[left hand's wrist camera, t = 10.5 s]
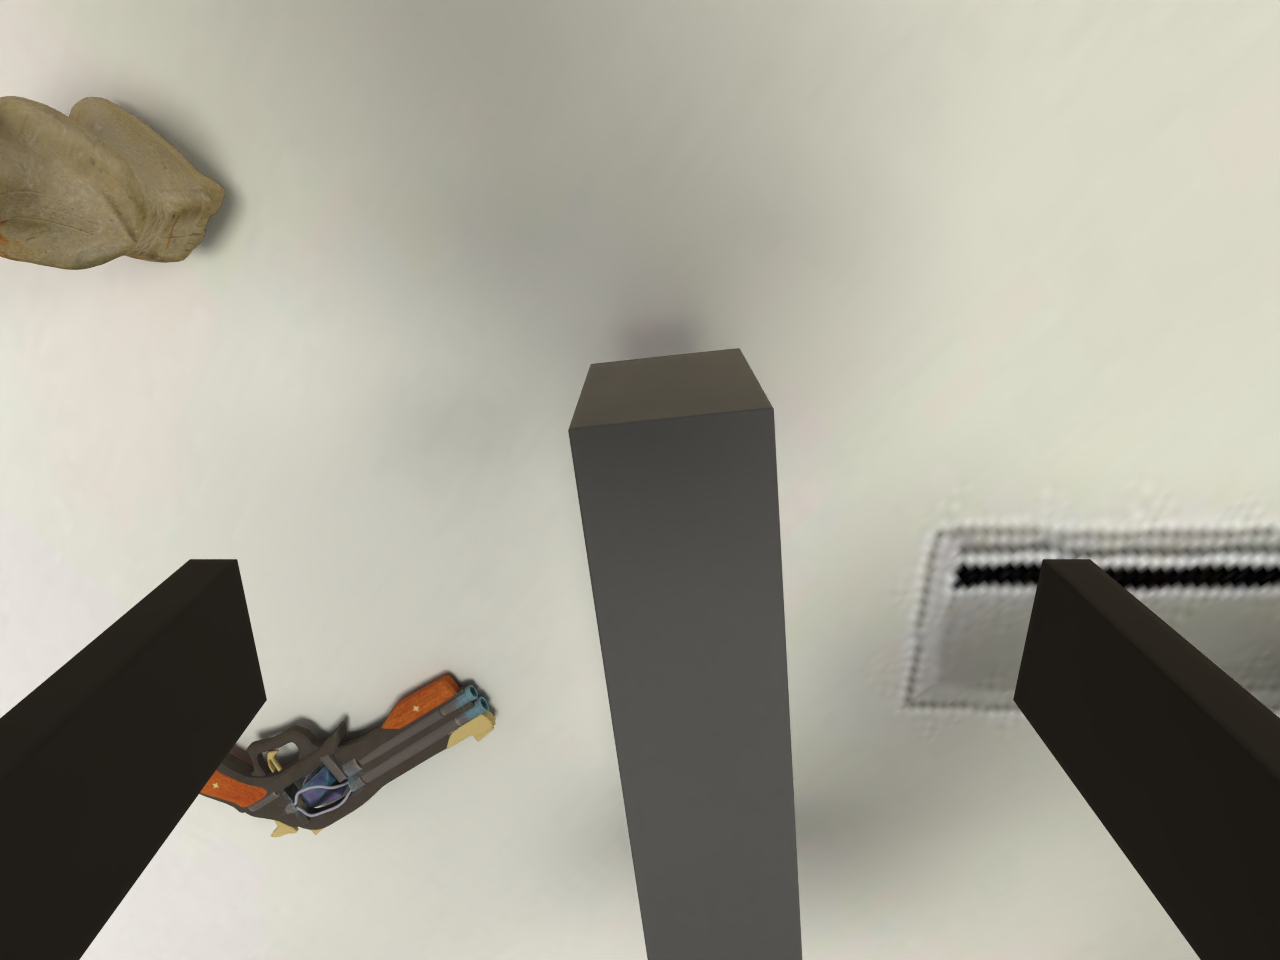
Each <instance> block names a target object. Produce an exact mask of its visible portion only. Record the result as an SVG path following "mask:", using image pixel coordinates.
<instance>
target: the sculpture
mask: <svg viewBox="0 0 1280 960" xmlns="http://www.w3.org/2000/svg"><path fill="white" fill-rule="evenodd" d="M224 196H225V191H224V189H223V188H222V187H221V186H220V185H219V184H218V183H217V182H216V181H214V180H213V179H211V178H209V177H205V176H204V175H202V174H201V173H200V172H198V171H197V170H196V169H195V168H194V167H193V166H192V165H191V164H190V163H189V162H188V161H187V159H186V158H185V157H184V156H183V155H182V154H181V153H180V152H179V151H178V150H177V149H176V148H174V147H173V146H172V145H171V144H170V143H168V142H167V141H166V140H165V139H163V138H162V137H161V136H160V135H158V134H157V133H156V132H155V131H154V130H152V129H151V128H150V127H149V126H147V125H146V124H145V123H143V122H142V121H141V120H139V119H138V118H136V117H135V116H133V115H132V114H130V113H129V112H127V111H126V110H124V109H122V108H121V107H119V106H117V105H116V104H114V103H112V102H110V101H108V100H106V99H103V98H98V97H87V98H84V99H82V100H81V101H79V102H78V103H76V104H75V105H74V107H73V108H72V109H71V112H70V115H69V117H67V116H66V115H64V114H62V113H61V112H59V111H57V110H56V109H53V108H51V107H49V106H47V105H44V104H42V103H39V102H36V101H32V100H29V99H26V98H22V97H16V96H6V97H1V98H0V256H1V257H4V258H7V259H10V260H15V261H22V262H30V263H34V264H39V265H45V266H50V267H56V268H61V269H71V270H79V269H87V268H91V267H95V266H98V265H102V264H104V263H107V262H109V261H111V260H113V259H116V258H118V257H120V256H123V255H126V256H129V257H132V258H136V259H141V260H146V261H153V262H179V261H182V260H184V259H185V258H186V257H187V256H188V255H189V254H190V253H191V252H192V250H193V249H195V248H196V247H197V246H198V245H199V243H200V242H201V241H202V239H203V238H204V236H205V234H206V231H205V227H206V225H207V222H208V220H209V217H210V216H211V215H213V214H215V213H217V211H218V210H219V209H220V206H221V204H222V201H223V199H224Z"/></svg>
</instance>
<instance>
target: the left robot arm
mask: <svg viewBox="0 0 1280 960" xmlns="http://www.w3.org/2000/svg"><path fill="white" fill-rule="evenodd" d="M266 700H267V699H266V694H265V689H264V685H263V680H262V675H261V670H260V666H259V661H258V656H257V651H256V647H255V642H254V637H253V632H252V628H251V623H250V618H249V614H248V609H247V604H246V599H245V595H244V590H243V585H242V580H241V576H240V571H239V566H238V561H237V559H190V560H189V561H188V562H186V563H185V564H184V565H183V566H182V567H180V568H179V569H178V570H177V571H176V572H174V573H173V574H172V575H171V576H170V577H168V578H167V579H166V580H165V581H164V582H163V583H161V584H160V585H159V586H158V587H157V588H155V589H154V590H153V591H152V592H151V593H149V594H148V595H147V596H146V597H145V598H143V599H142V600H141V601H140V602H139V603H137V604H136V605H135V606H134V607H133V608H132V609H130V610H129V611H128V612H127V613H126V614H124V615H123V616H122V617H121V618H120V619H118V620H117V621H116V622H115V623H114V624H112V625H111V626H110V627H109V628H108V629H106V630H105V631H104V632H103V633H102V634H100V635H99V636H98V637H97V638H96V639H95V640H93V641H92V642H91V643H90V644H89V645H87V646H86V647H85V648H84V649H83V650H81V651H80V652H79V653H78V654H77V655H75V656H74V657H73V658H72V659H71V660H69V661H68V662H67V663H66V664H65V665H63V666H62V667H61V668H60V669H59V670H58V671H56V672H55V673H54V674H53V675H52V676H50V677H49V678H48V679H47V680H46V681H44V682H43V683H42V684H41V685H40V686H38V687H37V688H36V689H35V690H34V691H32V692H31V693H30V694H29V695H28V696H27V697H25V698H24V699H23V700H22V701H21V702H19V703H18V704H17V705H16V706H15V707H13V708H12V709H11V710H10V711H9V712H7V713H6V714H5V715H4V716H3V717H1V718H0V960H79V959H80V958H81V957H82V955H83V954H84V952H85V951H86V950H87V948H88V947H89V946H90V944H91V943H92V941H93V940H94V939H95V937H96V936H97V934H98V933H99V932H100V930H101V929H102V927H103V926H104V925H105V923H106V922H107V921H108V919H109V918H110V916H111V915H112V914H113V912H114V911H115V909H116V908H117V907H118V905H119V904H120V903H121V901H122V900H123V898H124V897H125V896H126V894H127V893H128V891H129V890H130V889H131V887H132V886H133V885H134V883H135V882H136V880H137V879H138V878H139V876H140V875H141V873H142V872H143V871H144V869H145V868H146V866H147V865H148V864H149V862H150V861H151V860H152V858H153V857H154V855H155V854H156V853H157V851H158V850H159V848H160V847H161V846H162V844H163V843H164V842H165V840H166V839H167V837H168V836H169V835H170V833H171V832H172V830H173V829H174V828H175V826H176V825H177V824H178V822H179V821H180V819H181V818H182V817H183V815H184V814H185V812H186V811H187V810H188V808H189V807H190V805H191V804H192V803H193V801H194V800H195V799H196V797H197V796H198V794H199V793H200V792H201V790H202V789H203V787H204V786H205V785H206V783H207V782H208V781H209V779H210V778H211V776H212V775H213V774H214V772H215V771H216V769H217V768H218V767H219V765H220V764H221V763H222V761H223V760H224V758H225V757H226V756H227V754H228V753H229V751H230V750H231V749H232V747H233V746H234V744H235V743H236V742H237V740H238V739H239V738H240V736H241V735H242V733H243V732H244V731H245V729H246V728H247V726H248V725H249V724H250V722H251V721H252V720H253V718H254V717H255V715H256V714H257V713H258V711H259V710H260V708H261V707H262V706H263V704H264V703H265V702H266ZM1013 700H1014V702H1015V703H1016V704H1017V706H1018V707H1019V708H1020V710H1021V711H1022V713H1023V714H1024V715H1025V717H1026V718H1027V720H1028V721H1029V722H1030V724H1031V725H1032V726H1033V728H1034V729H1035V731H1036V732H1037V733H1038V735H1039V736H1040V738H1041V739H1042V740H1043V742H1044V743H1045V744H1046V746H1047V747H1048V749H1049V750H1050V751H1051V753H1052V754H1053V756H1054V757H1055V758H1056V760H1057V761H1058V763H1059V764H1060V765H1061V767H1062V768H1063V769H1064V771H1065V772H1066V774H1067V775H1068V776H1069V778H1070V779H1071V781H1072V782H1073V783H1074V785H1075V786H1076V787H1077V789H1078V790H1079V792H1080V793H1081V794H1082V796H1083V797H1084V799H1085V800H1086V801H1087V803H1088V804H1089V805H1090V807H1091V808H1092V810H1093V811H1094V812H1095V814H1096V815H1097V817H1098V818H1099V819H1100V821H1101V822H1102V824H1103V825H1104V826H1105V828H1106V829H1107V830H1108V832H1109V833H1110V835H1111V836H1112V837H1113V839H1114V840H1115V842H1116V843H1117V844H1118V846H1119V847H1120V848H1121V850H1122V851H1123V853H1124V854H1125V855H1126V857H1127V858H1128V860H1129V861H1130V862H1131V864H1132V865H1133V866H1134V868H1135V869H1136V871H1137V872H1138V873H1139V875H1140V876H1141V878H1142V879H1143V880H1144V882H1145V883H1146V885H1147V886H1148V887H1149V889H1150V890H1151V891H1152V893H1153V894H1154V896H1155V897H1156V898H1157V900H1158V901H1159V903H1160V904H1161V905H1162V907H1163V908H1164V909H1165V911H1166V912H1167V914H1168V915H1169V916H1170V918H1171V919H1172V921H1173V922H1174V923H1175V925H1176V926H1177V927H1178V929H1179V930H1180V932H1181V933H1182V934H1183V936H1184V937H1185V939H1186V940H1187V941H1188V943H1189V944H1190V946H1191V947H1192V948H1193V950H1194V951H1195V952H1196V954H1197V955H1198V957H1199V958H1200V959H1201V960H1280V718H1279V717H1277V716H1276V715H1275V714H1274V713H1273V712H1271V711H1270V710H1269V709H1268V708H1267V707H1265V706H1264V705H1263V704H1262V703H1261V702H1259V701H1258V700H1257V699H1256V698H1255V697H1253V696H1252V695H1251V694H1250V693H1249V692H1248V691H1246V690H1245V689H1244V688H1243V687H1242V686H1240V685H1239V684H1238V683H1237V682H1236V681H1234V680H1233V679H1232V678H1231V677H1230V676H1228V675H1227V674H1226V673H1225V672H1224V671H1222V670H1221V669H1220V668H1219V667H1218V666H1217V665H1215V664H1214V663H1213V662H1212V661H1211V660H1209V659H1208V658H1207V657H1206V656H1205V655H1203V654H1202V653H1201V652H1200V651H1199V650H1197V649H1196V648H1195V647H1194V646H1193V645H1191V644H1190V643H1189V642H1188V641H1187V640H1185V639H1184V638H1183V637H1182V636H1181V635H1180V634H1178V633H1177V632H1176V631H1175V630H1174V629H1172V628H1171V627H1170V626H1169V625H1168V624H1166V623H1165V622H1164V621H1163V620H1162V619H1160V618H1159V617H1158V616H1157V615H1156V614H1154V613H1153V612H1152V611H1151V610H1150V609H1148V608H1147V607H1146V606H1145V605H1144V604H1143V603H1141V602H1140V601H1139V600H1138V599H1137V598H1135V597H1134V596H1133V595H1132V594H1131V593H1129V592H1128V591H1127V590H1126V589H1125V588H1123V587H1122V586H1121V585H1120V584H1119V583H1117V582H1116V581H1115V580H1114V579H1113V578H1112V577H1110V576H1109V575H1108V574H1107V573H1106V572H1104V571H1103V570H1102V569H1101V568H1100V567H1098V566H1097V565H1096V564H1095V563H1094V562H1092V561H1091V560H1090V559H1043V561H1042V566H1041V571H1040V576H1039V580H1038V585H1037V590H1036V595H1035V599H1034V604H1033V609H1032V614H1031V618H1030V623H1029V628H1028V632H1027V637H1026V642H1025V647H1024V651H1023V656H1022V661H1021V666H1020V670H1019V675H1018V680H1017V685H1016V689H1015V694H1014V699H1013Z"/></svg>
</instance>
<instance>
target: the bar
mask: <svg viewBox="0 0 1280 960" xmlns="http://www.w3.org/2000/svg"><path fill="white" fill-rule="evenodd" d="M568 431H569V438H570V445H571V451H572V458H573V465H574V471H575V478H576V485H577V491H578V498H579V505H580V511H581V518H582V525H583V531H584V538H585V545H586V551H587V558H588V564H589V571H590V578H591V584H592V591H593V598H594V604H595V611H596V618H597V624H598V631H599V638H600V644H601V651H602V658H603V664H604V671H605V678H606V684H607V691H608V698H609V704H610V711H611V718H612V724H613V731H614V738H615V744H616V751H617V758H618V764H619V771H620V778H621V784H622V791H623V798H624V804H625V811H626V818H627V824H628V831H629V838H630V844H631V851H632V858H633V864H634V871H635V878H636V884H637V891H638V898H639V904H640V911H641V918H642V924H643V931H644V938H645V944H646V951H647V958H648V960H802V946H801V927H800V907H799V888H798V869H797V850H796V830H795V811H794V792H793V772H792V753H791V734H790V715H789V695H788V676H787V657H786V637H785V618H784V599H783V580H782V560H781V541H780V522H779V502H778V483H777V464H776V445H775V425H774V409H773V407H772V405H771V404H770V402H769V400H768V398H767V396H766V395H765V393H764V391H763V389H762V388H761V386H760V384H759V382H758V380H757V379H756V377H755V375H754V373H753V371H752V370H751V368H750V366H749V364H748V363H747V361H746V359H745V357H744V355H743V354H742V352H741V350H740V349H739V348H737V349H727V350H718V351H709V352H700V353H690V354H681V355H672V356H662V357H653V358H644V359H635V360H625V361H616V362H607V363H597V364H591V365H590V368H589V371H588V374H587V377H586V380H585V383H584V386H583V389H582V392H581V395H580V398H579V401H578V404H577V406H576V409H575V412H574V415H573V418H572V421H571V424H570V427H569V430H568Z"/></svg>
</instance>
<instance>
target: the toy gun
mask: <svg viewBox="0 0 1280 960" xmlns="http://www.w3.org/2000/svg"><path fill="white" fill-rule="evenodd" d="M495 719H496V718H495V717H494V716H493V715H492V713H491V712H490V711H489V705H488V702H487V701H486V699H485V698H484V697H481V696H480V697H479V698H478V693H477V690H476V689H475V688H474V686H472V685H469V686H466V685H464V686H462V687H461V688H460V687H459V686H458V685H457V683H456V682H455V681H454V680H453V678H452V677H450V676H449V675H445V676H443V677H441V678H440V679H438V680H436V681H434V682H432V683H430V684H429V685H427V686H425V687H423V688H421V689H420V690H418V691H416V692H414V693H413V694H411V695H409V696H407V697H406V698H404V699H402V700H401V701H399V702H398V703H397V704H396V706H395V707H394V709H393V710H392V712H391V713H390V715H389V716H388V718H387V719H386V721H385V722H384V723H383V724H382V725H380V726H378V727H377V728H375V729H373V730H372V731H370V732H369V733H367V734H365V735H363V736H361V737H359V738H356V739H353V740H350V741H344V742H342V741H343V740H344V737H345V722H344V721H343V722H342V723H341V724H340V726H339V727H338V728H337V730H336V731H335V732H334V733H333V734H332V735H331V736H329V737H328V738H327V739H326V740H325V741H320V740H318V739H317V738H316V737H315V736H314V734H313V733H312V732H311V731H310V730H308V729H307V728H304V727H302V726H293V727H291V728H290V729H288V730H287V731H285V732H283V733H281V734H279V735H276V736H274V737H271V738H267V739H263V740H258V741H255V742H253V743H252V744H251V745H250V746H249V747H248V748H247V751H246V752H247V753H248V755H249V757H250V758H251V760H252V763H253V765H254V766H251V765H249V764H247V763H245V762H243V761H241V760H239V759H238V758H236V757H234V756H233V755H231V754H230V753H228V754H227V756H226V757H225V758H224V760H223V761H222V763H221V764H220V765H219V767H218V768H217V769H216V771H215V772H214V774H213V775H212V776H211V778H210V779H209V781H208V782H207V783H206V785H205V786H204V787H203V789H202V790H201V792H200V793H199V794H201V795H203V796H206V797H209V798H212V799H215V800H218V801H220V802H223V803H226V804H228V805H230V806H233V807H234V808H236V809H237V810H238V811H239V812H241V813H244V812H245V813H247V814H249V815H251V816H254V817H259V818H266V819H272V820H274V821H275V822H276V824H277V825H278V827H277V828H276V829H275V831H274V832H273V833H272V834H271V836H272V837H279V836H282V835H284V834H287V833H296V832H297V831H298V828H297V827H302V828H305V829H309V830H312V831H313V833H314V834H315V835H316V834H317V833H319V832H320V831H321V830H322V829H323V828H325V827H327V826H329V825H331V824H333V823H334V822H336V821H338V820H339V819H341V818H343V817H344V816H346V815H348V814H349V813H351V812H353V811H354V810H356V809H357V808H359V807H360V806H361V805H363V804H364V803H365V802H366V801H368V800H369V799H370V798H371V797H372V796H373V795H374V794H375V793H376V792H377V791H378V790H380V789H381V788H382V787H383V786H384V785H386V784H387V783H389V782H390V781H392V780H394V779H395V778H397V777H399V776H400V775H402V774H404V773H405V772H407V771H409V770H410V769H412V768H414V767H415V766H417V765H419V764H420V763H422V762H424V761H425V760H427V759H429V758H430V757H432V756H434V755H435V754H437V753H439V752H441V751H443V750H445V749H446V748H447V749H448V748H449V747H451V746H453V745H455V744H457V743H458V742H460V741H462V740H464V739H465V738H467V737H469V736H471V735H473V736H474V737H475V738H476V740H477V741H478V742H479V741H480V740H481V739H482V738H483V737H485V736H486V735H487V734H488V733H489V732H491V731H492V730H493V729H494V727H493V726H494V725H495ZM290 742H293V743H295V744H296V745H297V747H298V748H299V754H300V757H298V758H297V759H295V760H293V761H292V762H290V763H288V764H287V765H285V766H283V767H281V766H280V764H279V763H278V762H277V760H276V759H275V754H276V753H277V752H278V751H279V750H273V749H277V748H279V747H282V746H284V745H285V744H287V743H290ZM266 751H269V752H268V753H267V760H268V765H269V766H268V765H267V764H266V762H265V761H264V759H263V756H262V753H263V752H266ZM271 761H272V762H271ZM272 763H273V764H274V766H275V767H276V768H274V766H273V764H272ZM321 765H324V766H322V767H321V768H320V769H319V770H318V771H317V772H316V773H315V774H314V775H313V776H312V777H311V778H310V779H309V780H308V781H307V779H308V778H309V776H310V775H311V774H312V772H313V771H314V770H315V769H316V768H318V767H319V766H321ZM307 774H308V775H307ZM306 775H307V776H306ZM304 776H306V778H305V780H304V782H303V786H302V788H301V789H300V790H299V789H298V788H297V787H296V786H295V784H294V782H296V781H298V780H299V779H301V778H302V777H304ZM306 781H307V782H306ZM347 785H349V788H350V790H349V792H348V793H347V795H346V796H344V797H342V798H341V799H339V800H337V801H336V802H334V803H332V804H330V805H327V806H324V807H321V808H314V807H317V806H319V805H322V804H324V803H327V802H329V801H331V800H334V799H336V798H338V797H340V796H342V794H343V792H344V791H345V789H346V787H347ZM351 791H352V792H351Z"/></svg>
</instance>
